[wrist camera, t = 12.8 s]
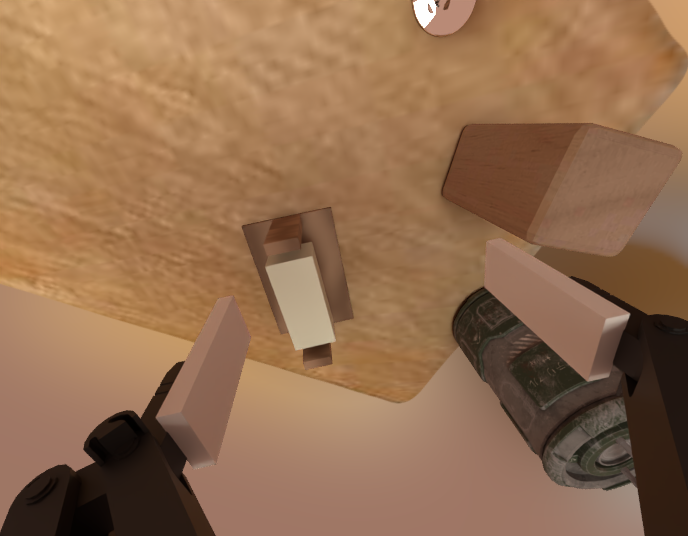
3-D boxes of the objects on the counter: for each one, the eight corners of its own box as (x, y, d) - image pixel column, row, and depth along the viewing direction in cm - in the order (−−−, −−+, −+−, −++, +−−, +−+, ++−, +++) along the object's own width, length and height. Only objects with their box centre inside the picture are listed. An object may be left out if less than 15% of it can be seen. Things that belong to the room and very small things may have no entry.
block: (462, 122, 39) (593, 120, 21) (526, 138, 41) (696, 148, 23) (437, 196, 43) (529, 246, 25) (496, 207, 45) (621, 261, 27)
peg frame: (281, 332, 51) (275, 376, 42) (242, 225, 42) (224, 252, 33) (353, 316, 51) (362, 357, 42) (330, 207, 42) (336, 229, 33)
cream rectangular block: (297, 328, 46) (295, 350, 42) (269, 251, 40) (265, 266, 36) (333, 320, 47) (335, 341, 42) (311, 241, 40) (312, 256, 36)
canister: (437, 309, 52) (555, 477, 27) (519, 264, 50) (729, 404, 25) (467, 361, 59) (583, 534, 34) (540, 324, 57) (722, 481, 32)
